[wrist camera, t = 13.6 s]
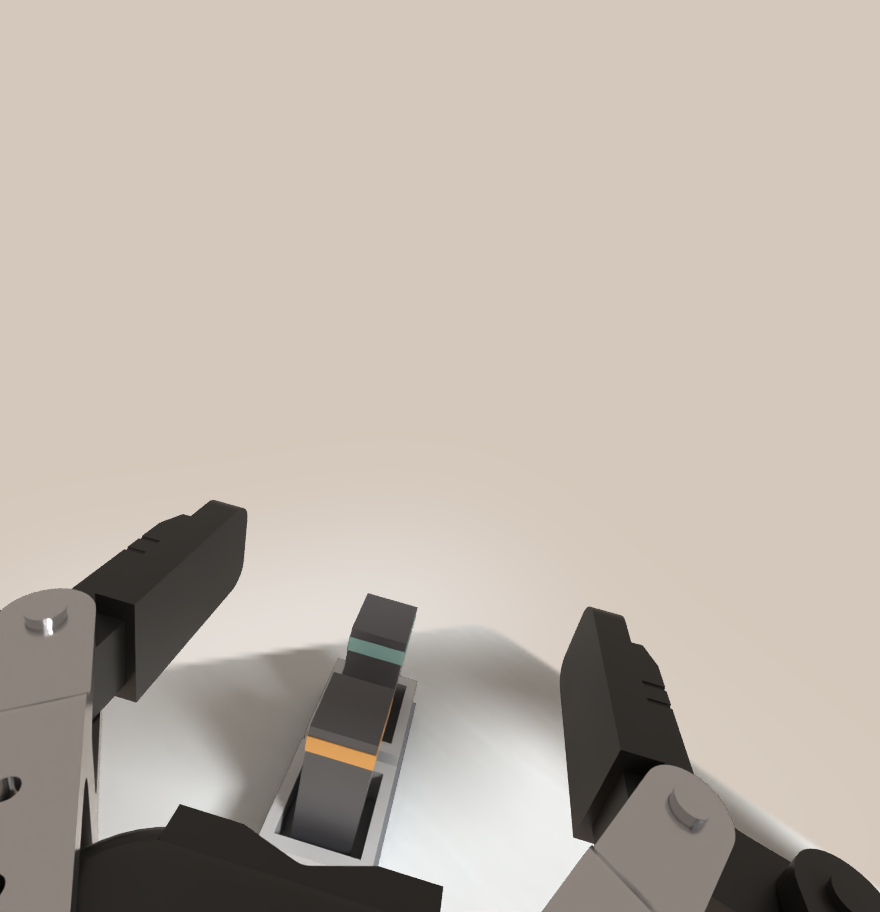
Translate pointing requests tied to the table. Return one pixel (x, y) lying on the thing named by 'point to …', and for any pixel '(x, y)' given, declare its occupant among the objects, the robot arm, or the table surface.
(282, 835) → the grey double socket holder
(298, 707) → the table surface
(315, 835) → the plug
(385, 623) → the twin plug
